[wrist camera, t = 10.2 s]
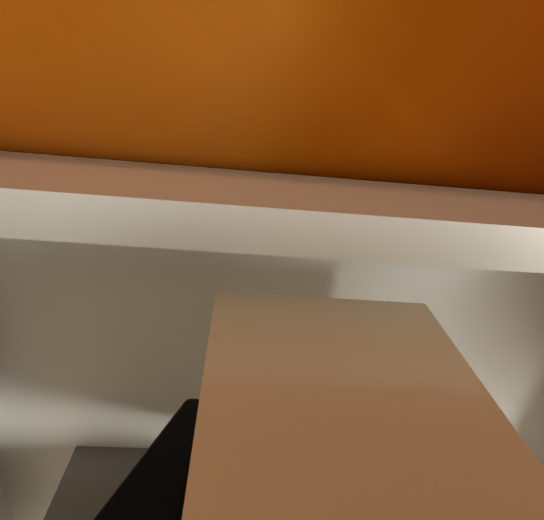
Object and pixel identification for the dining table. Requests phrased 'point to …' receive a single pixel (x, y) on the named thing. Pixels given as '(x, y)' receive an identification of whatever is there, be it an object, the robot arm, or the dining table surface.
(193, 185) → the parts tray
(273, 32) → the dining table surface
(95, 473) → the taupe grey cube
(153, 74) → the dining table surface
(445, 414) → the sand brown box
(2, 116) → the dining table surface
